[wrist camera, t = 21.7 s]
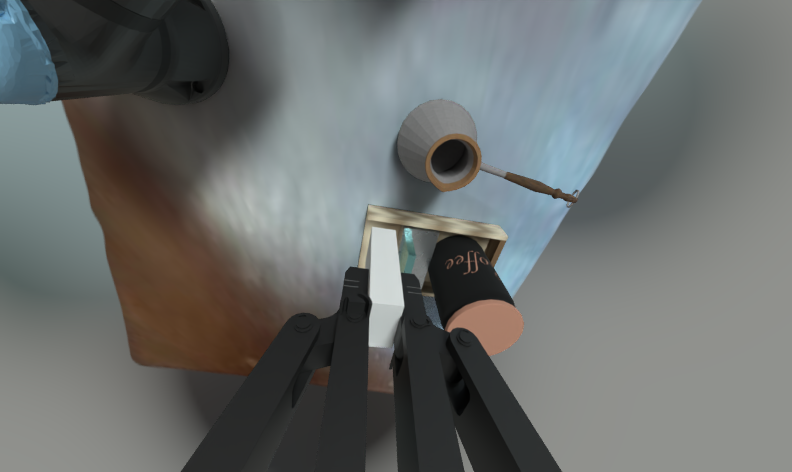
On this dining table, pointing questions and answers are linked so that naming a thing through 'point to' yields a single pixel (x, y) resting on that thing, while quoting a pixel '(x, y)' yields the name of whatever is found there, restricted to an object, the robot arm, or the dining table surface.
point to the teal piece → (416, 250)
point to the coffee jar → (473, 294)
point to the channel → (392, 219)
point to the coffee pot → (452, 150)
